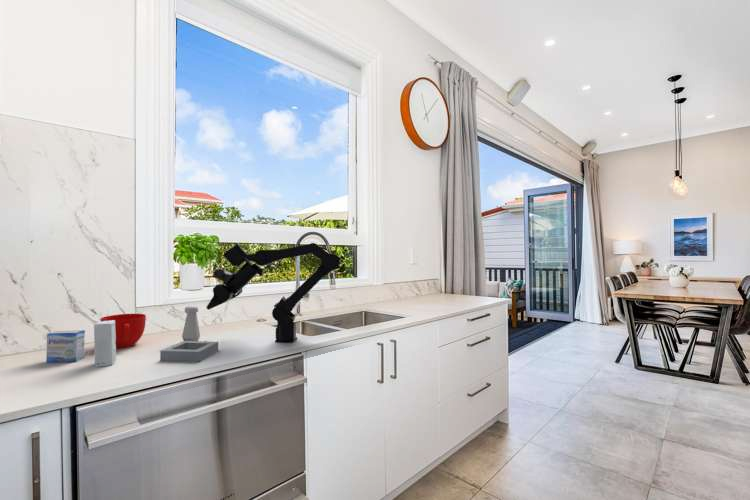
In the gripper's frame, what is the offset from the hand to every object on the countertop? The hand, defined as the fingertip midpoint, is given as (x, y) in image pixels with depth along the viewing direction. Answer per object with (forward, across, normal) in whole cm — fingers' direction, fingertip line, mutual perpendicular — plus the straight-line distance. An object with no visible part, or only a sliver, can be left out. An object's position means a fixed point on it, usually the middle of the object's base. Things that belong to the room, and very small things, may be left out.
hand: (211, 306), depth 135 cm
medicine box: (+34, +19, -16) cm, 43 cm away
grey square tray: (+10, +17, +8) cm, 22 cm away
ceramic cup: (+28, +5, -10) cm, 30 cm away
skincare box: (+25, +24, -6) cm, 35 cm away
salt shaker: (+14, 0, +4) cm, 15 cm away
